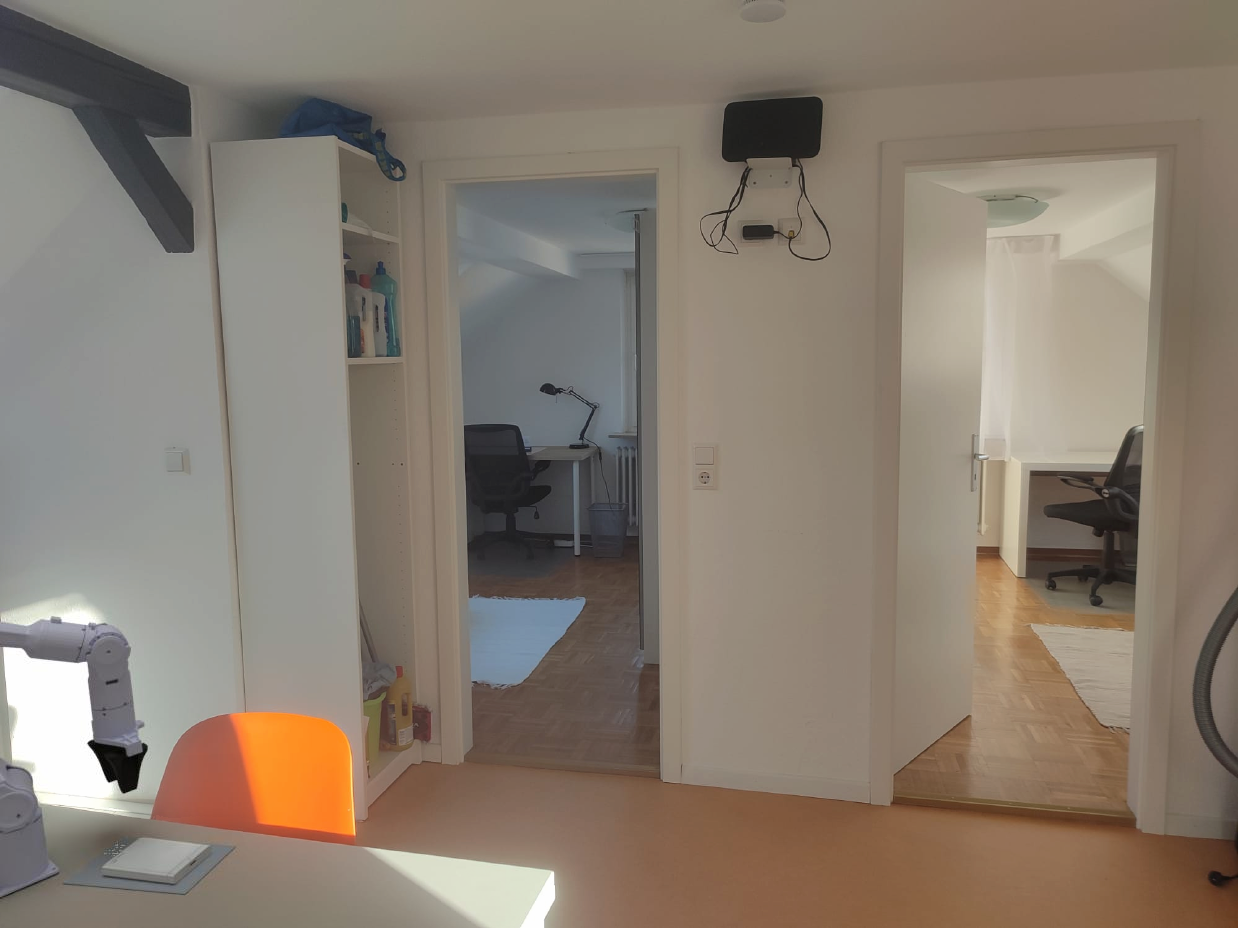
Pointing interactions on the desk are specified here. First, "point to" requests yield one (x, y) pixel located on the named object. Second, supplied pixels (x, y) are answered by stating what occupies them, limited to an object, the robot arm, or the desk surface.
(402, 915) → the desk surface
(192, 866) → the hard drive
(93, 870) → the label mat
